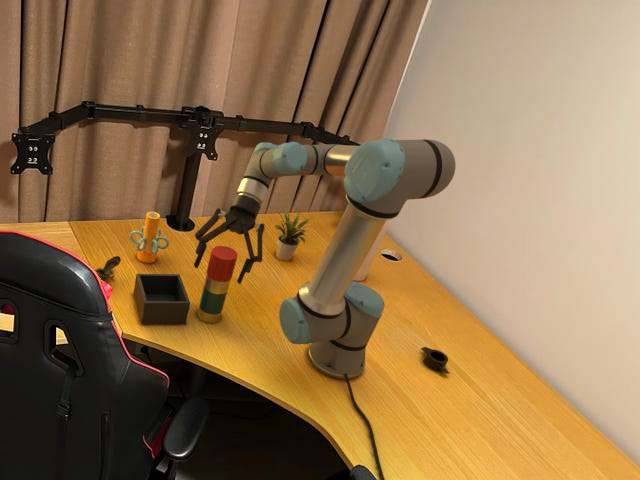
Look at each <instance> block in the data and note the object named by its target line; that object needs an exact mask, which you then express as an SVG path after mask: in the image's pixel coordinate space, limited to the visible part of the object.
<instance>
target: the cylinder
mask: <svg viewBox="0 0 640 480" xmlns="http://www.w3.org/2000/svg"><path fill="white" fill-rule="evenodd" d="M160 219H161V215H160V214H159V213H158V212H155V211H148V212H146V216H145V223H144V225H143V226H142V227H141V228H140V231H139V230H133V231H131V232H130V233H129V239H130V241H131V242H132V243H134V244H136V249H137V255H136V258H137V260H139V261H140V262H142V263H145V264H152V263H154V262H156V261H157V256H158V252H159V249H160V250H165V249H167V248H169V246H170V242H169V241H170V240H169V239H168V238H167V237H166V236H161V234H162V230H161V229H160V228H159V225H160ZM134 234H138V235H139V237H140V239H139V240H135V239H134V237H133V236H134ZM160 240H164V241H165V242H166V243H165V245H164V246H162V245H159V241H160Z"/></svg>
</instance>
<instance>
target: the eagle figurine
mask: <svg viewBox="0 0 640 480" xmlns="http://www.w3.org/2000/svg"><path fill="white" fill-rule="evenodd" d="M121 261H122V258H121V257H120V255H115V256H113V257H111V258H109V259H107V261H106V262H105V264H104V266H102V267H98V268H96V269H94V270H95V271H96V272H97V273H96V274H99V275H100V276H101V277H100V278H101V279H102V280H103V281H105V282H107V280H109V279H111V280H112V281H114V277H116V276H115V274H113V275H112V273H111V272H113V271H114V270H113V269H115V267H117V266H119V265H120V264H121ZM101 279H100V280H101ZM102 280H101V281H102Z"/></svg>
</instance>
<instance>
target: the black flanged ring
mask: <svg viewBox="0 0 640 480" xmlns="http://www.w3.org/2000/svg"><path fill="white" fill-rule="evenodd" d="M420 350H421V351H423V353H424V354H425V356H424V358H423V360H422V362H423V364H424V366H425V367H427V368H428V369H430V370H431V371H435V372H443V373H445V374H447V375H448V374H451V373H450V371H449V370H447V368H446V366H447V364H448V362H449V357H448V355H447V354H445V353H444V352H442V351H441V350H439V349H432V348H429V347H427V346H423V347H421V348H420Z"/></svg>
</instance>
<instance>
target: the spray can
mask: <svg viewBox="0 0 640 480" xmlns="http://www.w3.org/2000/svg"><path fill="white" fill-rule="evenodd" d="M230 283H231V280H230V281H227V282H217V281H214V280H212V279H211V278H209V277H208V275H207V274H205V279H204V284H203V287H202V291H201V292H202V293H201V297H200V301H199V305H198V309H197V317H198V318H199V320H201V321H202V322H205V323H209V324H215V323H218V322H219V321H220V320H221V317H222V313H223V310H224V306H225V302H226V299H227V295H228V290H229V288H230Z"/></svg>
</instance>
